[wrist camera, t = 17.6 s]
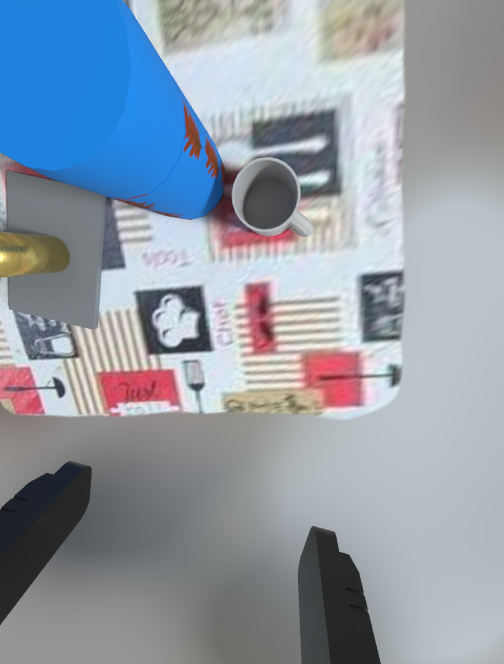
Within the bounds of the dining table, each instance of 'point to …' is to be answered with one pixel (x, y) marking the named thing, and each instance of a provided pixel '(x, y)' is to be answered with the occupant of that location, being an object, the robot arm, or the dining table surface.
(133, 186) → the thermos
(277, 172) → the cup
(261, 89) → the dining table surface
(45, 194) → the slate board
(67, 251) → the canister
